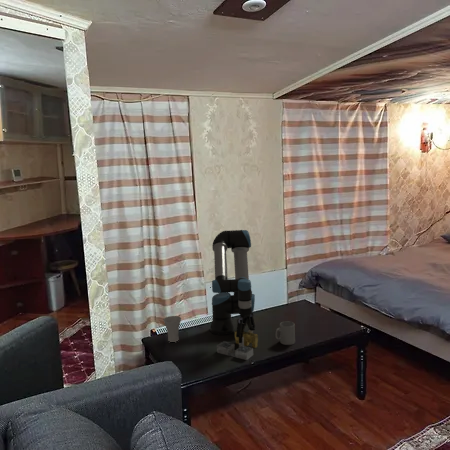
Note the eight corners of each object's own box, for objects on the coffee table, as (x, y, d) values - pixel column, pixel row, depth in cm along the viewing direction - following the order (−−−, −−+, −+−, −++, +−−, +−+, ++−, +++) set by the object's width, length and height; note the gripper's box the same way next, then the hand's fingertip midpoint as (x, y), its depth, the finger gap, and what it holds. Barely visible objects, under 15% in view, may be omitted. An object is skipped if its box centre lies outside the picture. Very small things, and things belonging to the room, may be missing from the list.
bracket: (217, 352, 228) (216, 345, 228) (224, 347, 234) (223, 341, 233) (246, 360, 218) (246, 353, 217) (253, 355, 224) (253, 348, 223)
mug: (290, 338, 244) (289, 320, 242) (297, 343, 236) (297, 325, 234) (272, 341, 239) (271, 323, 238) (279, 347, 231) (279, 328, 230)
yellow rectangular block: (235, 343, 239) (234, 331, 238) (237, 341, 242) (237, 329, 241) (255, 348, 232) (255, 336, 231) (258, 346, 234) (257, 334, 233)
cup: (184, 337, 250) (183, 316, 248) (178, 345, 240) (177, 322, 238) (168, 336, 253) (167, 315, 251) (161, 343, 243) (160, 321, 241)
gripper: (240, 314, 222) (241, 353, 225) (260, 302, 241) (261, 338, 244) (228, 311, 226) (230, 350, 230) (249, 300, 245) (250, 336, 248)
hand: (246, 344), depth 237 cm, fingers open, 10 cm apart
